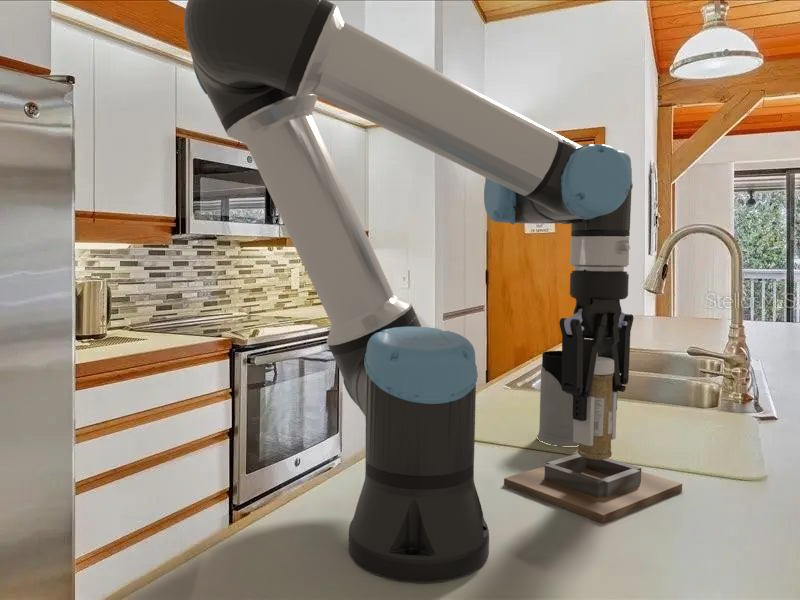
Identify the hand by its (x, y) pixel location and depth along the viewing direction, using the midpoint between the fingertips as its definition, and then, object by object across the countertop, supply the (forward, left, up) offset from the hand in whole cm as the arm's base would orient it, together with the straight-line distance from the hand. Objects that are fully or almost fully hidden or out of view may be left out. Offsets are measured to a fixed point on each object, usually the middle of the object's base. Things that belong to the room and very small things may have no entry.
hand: (594, 439), depth 90 cm
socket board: (0, 0, -7) cm, 7 cm away
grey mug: (+18, +16, -7) cm, 25 cm away
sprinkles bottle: (0, 0, -2) cm, 2 cm away
